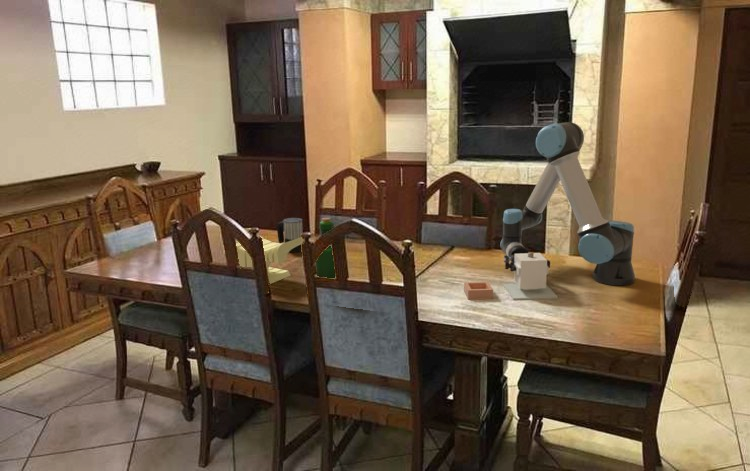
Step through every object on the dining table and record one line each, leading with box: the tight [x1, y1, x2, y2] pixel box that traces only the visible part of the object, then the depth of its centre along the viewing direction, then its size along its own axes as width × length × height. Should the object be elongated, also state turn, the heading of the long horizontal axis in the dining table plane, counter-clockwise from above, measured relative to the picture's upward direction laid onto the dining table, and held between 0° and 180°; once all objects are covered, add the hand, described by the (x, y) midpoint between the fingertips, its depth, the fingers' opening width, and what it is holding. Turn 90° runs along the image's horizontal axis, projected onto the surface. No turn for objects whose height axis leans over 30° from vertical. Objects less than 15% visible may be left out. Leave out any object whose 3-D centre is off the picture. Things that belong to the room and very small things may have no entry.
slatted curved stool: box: [221, 227, 303, 285], centre depth 244 cm, size 30×16×18 cm, turn 56°
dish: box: [463, 281, 494, 301], centre depth 220 cm, size 9×9×4 cm
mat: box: [502, 282, 559, 301], centre depth 223 cm, size 16×16×1 cm
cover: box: [513, 251, 548, 290], centre depth 221 cm, size 9×9×13 cm
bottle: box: [314, 217, 335, 278], centre depth 227 cm, size 11×11×28 cm
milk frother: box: [276, 217, 303, 253], centre depth 283 cm, size 14×16×15 cm
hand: (533, 271), depth 216 cm, fingers closed on cover, 9 cm apart
